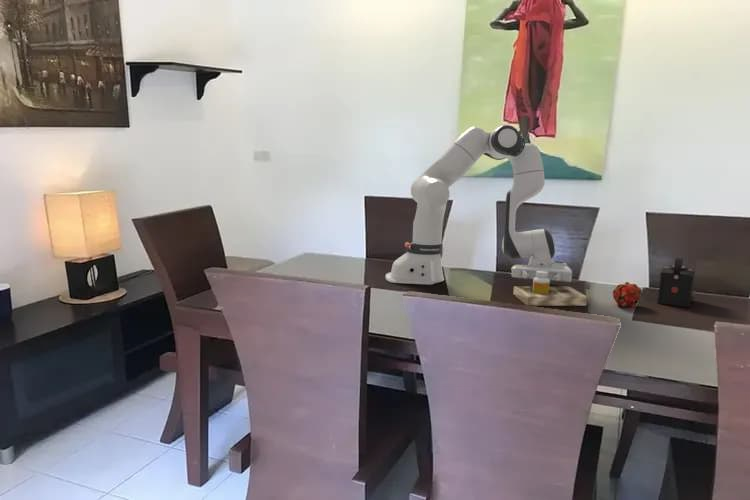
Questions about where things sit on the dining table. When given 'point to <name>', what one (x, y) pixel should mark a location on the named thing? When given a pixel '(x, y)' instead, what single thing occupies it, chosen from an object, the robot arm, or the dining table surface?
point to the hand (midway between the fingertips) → (541, 277)
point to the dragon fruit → (627, 295)
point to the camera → (676, 285)
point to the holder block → (551, 296)
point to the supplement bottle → (541, 283)
